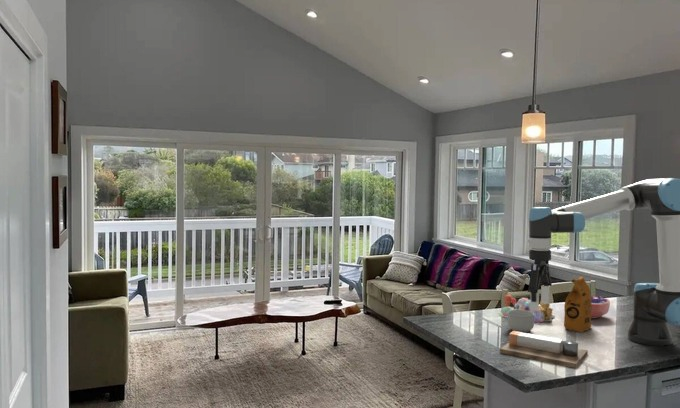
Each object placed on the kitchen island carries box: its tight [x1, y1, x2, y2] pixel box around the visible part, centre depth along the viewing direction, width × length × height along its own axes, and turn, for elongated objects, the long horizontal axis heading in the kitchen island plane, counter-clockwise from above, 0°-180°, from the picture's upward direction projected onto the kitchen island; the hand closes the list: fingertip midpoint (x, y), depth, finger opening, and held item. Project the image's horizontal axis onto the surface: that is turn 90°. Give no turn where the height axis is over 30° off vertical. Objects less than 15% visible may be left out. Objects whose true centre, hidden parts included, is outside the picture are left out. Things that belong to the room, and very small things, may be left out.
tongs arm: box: [508, 331, 561, 354], centre depth 188 cm, size 18×2×4 cm, turn 53°
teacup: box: [507, 309, 535, 333], centre depth 218 cm, size 14×11×8 cm
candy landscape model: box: [498, 294, 555, 323], centre depth 242 cm, size 25×24×9 cm
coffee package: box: [563, 275, 592, 333], centre depth 221 cm, size 10×12×22 cm
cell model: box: [591, 295, 611, 319], centre depth 241 cm, size 17×20×11 cm
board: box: [499, 342, 589, 369], centre depth 188 cm, size 26×18×2 cm
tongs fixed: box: [511, 330, 579, 357], centre depth 188 cm, size 24×5×4 cm, turn 53°
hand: (540, 306), depth 188 cm, fingers open, 13 cm apart
